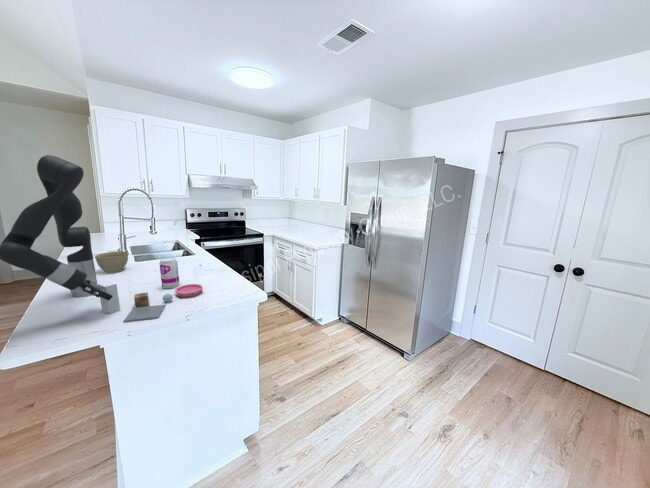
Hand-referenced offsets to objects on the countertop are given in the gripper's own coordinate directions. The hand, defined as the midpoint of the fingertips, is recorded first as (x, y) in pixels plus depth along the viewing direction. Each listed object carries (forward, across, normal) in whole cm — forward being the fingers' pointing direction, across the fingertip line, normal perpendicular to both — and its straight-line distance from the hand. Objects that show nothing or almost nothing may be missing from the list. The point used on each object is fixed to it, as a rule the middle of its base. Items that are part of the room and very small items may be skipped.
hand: (108, 295), depth 112 cm
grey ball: (+19, -8, -9) cm, 22 cm away
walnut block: (+12, -4, -3) cm, 13 cm away
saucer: (+27, -5, -17) cm, 32 cm away
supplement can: (+25, +13, -15) cm, 32 cm away
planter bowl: (+14, +66, -5) cm, 68 cm away
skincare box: (+5, 0, +5) cm, 7 cm away
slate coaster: (+11, -14, -2) cm, 18 cm away
